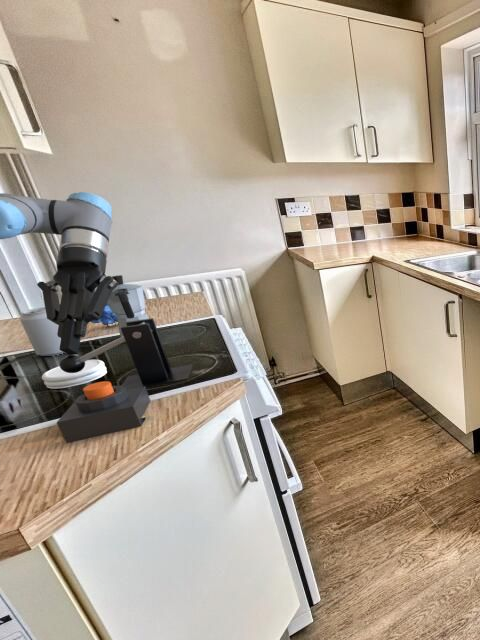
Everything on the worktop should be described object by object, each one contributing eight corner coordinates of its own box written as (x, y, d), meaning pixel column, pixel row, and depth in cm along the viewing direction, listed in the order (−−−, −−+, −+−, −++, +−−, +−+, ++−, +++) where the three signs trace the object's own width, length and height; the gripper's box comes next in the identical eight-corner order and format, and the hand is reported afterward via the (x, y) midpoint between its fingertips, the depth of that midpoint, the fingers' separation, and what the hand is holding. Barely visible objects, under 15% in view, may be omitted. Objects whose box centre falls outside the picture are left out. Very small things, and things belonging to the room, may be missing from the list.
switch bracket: (118, 397, 86) (92, 334, 81) (130, 380, 94) (106, 322, 89) (189, 383, 92) (168, 323, 87) (194, 368, 99) (176, 312, 94)
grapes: (86, 334, 125) (69, 295, 121) (86, 329, 130) (70, 291, 125) (136, 324, 133) (122, 287, 128) (135, 320, 137) (121, 284, 133)
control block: (66, 443, 71) (51, 412, 69) (85, 419, 78) (72, 390, 76) (141, 426, 75) (129, 397, 73) (152, 405, 83) (141, 377, 81)
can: (40, 352, 112) (19, 309, 108) (78, 345, 117) (60, 303, 112) (35, 360, 107) (13, 315, 102) (75, 352, 111) (56, 309, 107)
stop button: (84, 402, 73) (79, 392, 72) (91, 394, 76) (86, 384, 75) (111, 397, 74) (106, 387, 74) (117, 389, 77) (112, 379, 76)
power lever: (66, 379, 84) (50, 365, 82) (73, 372, 87) (58, 359, 85) (152, 336, 88) (138, 322, 86) (155, 332, 91) (142, 318, 89)
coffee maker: (119, 335, 123) (95, 275, 117) (157, 328, 128) (136, 270, 122) (119, 349, 113) (93, 283, 106) (160, 340, 118) (138, 277, 111)
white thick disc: (105, 368, 100) (99, 355, 99) (112, 380, 94) (106, 366, 93) (45, 384, 93) (38, 369, 92) (49, 397, 87) (42, 382, 86)
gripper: (129, 262, 98) (120, 354, 89) (59, 268, 94) (42, 364, 86) (108, 242, 91) (96, 339, 83) (32, 247, 88) (11, 349, 79)
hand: (69, 351), depth 84 cm, fingers closed
